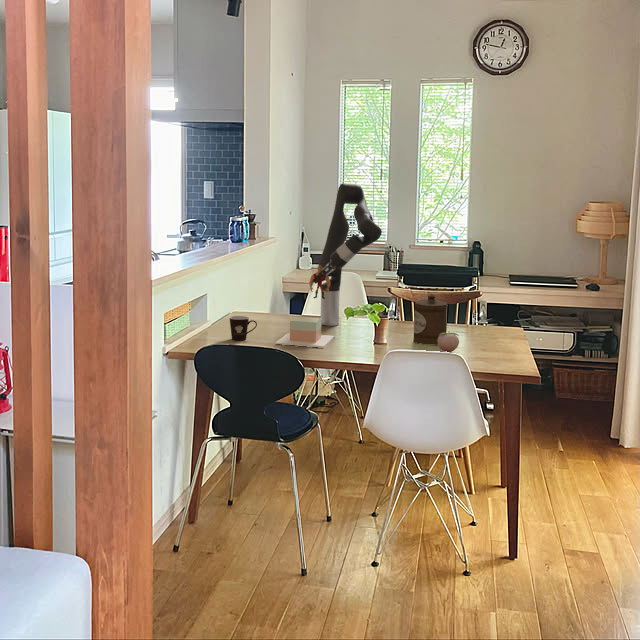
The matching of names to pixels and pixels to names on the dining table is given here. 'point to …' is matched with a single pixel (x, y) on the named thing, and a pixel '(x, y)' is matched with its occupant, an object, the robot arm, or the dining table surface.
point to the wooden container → (429, 320)
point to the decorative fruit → (448, 341)
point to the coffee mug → (240, 327)
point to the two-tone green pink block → (305, 333)
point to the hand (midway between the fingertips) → (315, 281)
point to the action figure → (319, 282)
